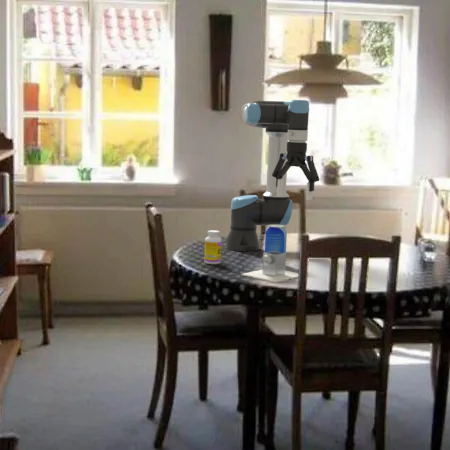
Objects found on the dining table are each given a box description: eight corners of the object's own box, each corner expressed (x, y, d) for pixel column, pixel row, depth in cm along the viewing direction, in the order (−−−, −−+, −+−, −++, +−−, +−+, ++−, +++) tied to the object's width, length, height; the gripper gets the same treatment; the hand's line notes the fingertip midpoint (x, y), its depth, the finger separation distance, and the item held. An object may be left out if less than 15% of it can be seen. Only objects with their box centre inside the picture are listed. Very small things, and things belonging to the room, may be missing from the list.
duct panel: (271, 269, 307) (271, 255, 306) (305, 276, 297) (305, 261, 296) (241, 275, 294) (242, 260, 293) (275, 282, 283) (276, 267, 283)
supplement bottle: (218, 265, 311) (220, 232, 309) (202, 263, 312) (203, 231, 311) (222, 262, 318) (223, 230, 316) (206, 260, 319) (207, 229, 317)
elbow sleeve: (272, 271, 300) (273, 251, 298) (284, 274, 296) (286, 253, 294) (257, 274, 293) (258, 253, 292) (270, 277, 289) (271, 256, 288)
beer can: (261, 266, 313) (263, 226, 310) (267, 262, 321) (269, 223, 318) (281, 268, 310) (283, 227, 308) (287, 264, 318) (289, 225, 315)
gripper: (264, 139, 301) (262, 195, 305) (319, 143, 285) (315, 202, 288) (276, 139, 307) (274, 193, 310) (330, 143, 291) (327, 200, 294)
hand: (294, 198), depth 299 cm, fingers open, 13 cm apart
